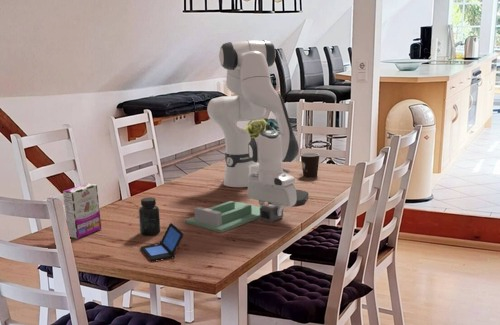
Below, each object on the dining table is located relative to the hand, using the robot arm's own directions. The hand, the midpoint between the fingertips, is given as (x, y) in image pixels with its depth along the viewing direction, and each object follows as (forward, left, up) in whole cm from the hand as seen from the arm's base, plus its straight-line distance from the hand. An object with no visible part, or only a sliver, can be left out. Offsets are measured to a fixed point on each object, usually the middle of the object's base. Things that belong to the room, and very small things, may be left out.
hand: (271, 213), depth 215 cm
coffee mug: (-61, -27, -2) cm, 67 cm away
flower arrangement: (-60, -53, -2) cm, 80 cm away
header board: (+8, -13, -2) cm, 15 cm away
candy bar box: (+51, -41, -2) cm, 65 cm away
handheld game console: (+46, -6, -2) cm, 47 cm away
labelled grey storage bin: (0, 0, -2) cm, 2 cm away
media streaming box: (-23, -10, -2) cm, 25 cm away
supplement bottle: (+37, -23, -2) cm, 44 cm away
